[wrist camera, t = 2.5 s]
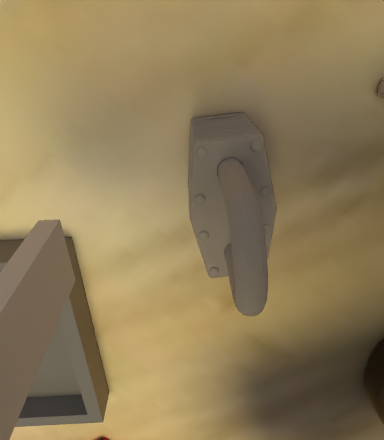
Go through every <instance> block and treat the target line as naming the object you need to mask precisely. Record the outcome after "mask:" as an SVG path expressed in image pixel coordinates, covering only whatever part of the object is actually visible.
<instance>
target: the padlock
mask: <svg viewBox="0 0 384 440" xmlns="http://www.w3.org/2000/svg"><path fill="white" fill-rule="evenodd" d="M188 188H189V211H190V220H191V223H192V226H193V229H194V232H195V235H196V238H197V242H198V245H199V248H200V251H201V254H202V257H203V260H204V263H205V266H206V269H207V272H208V275H209V277H211V278H217V277H226V276H229V280H230V285H231V290H232V295H233V299H234V303H235V306H236V308H237V309H238V311H239V312H241V313H242V314H243V315H246V316H255V315H258V314H259V313H261V311H262V310H263V309H264V306H265V304H266V301H267V290H268V271H267V259H268V254H269V248H270V243H271V237H272V231H273V226H274V220H275V215H276V203H275V197H274V192H273V187H272V181H271V176H270V171H269V166H268V160H267V155H266V150H265V144H264V139H263V135H262V134H261V132H260V131H259V130H258V129H257V128H256V126H255V125H254V124H253V123H252V122H251V120H250V119H249V118H248V117H247V115H246V114H245V113H243V112H240V113H232V114H224V115H216V116H208V117H200V118H193V119H192V120H191V132H190V154H189V177H188Z"/></svg>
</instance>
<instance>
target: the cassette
mask: <svg viewBox="0 0 384 440" xmlns="http://www.w3.org/2000/svg"><path fill="white" fill-rule="evenodd" d="M377 96H380V97H383V98H384V78H382V80H381V83H380V84H379V88H378V95H377Z"/></svg>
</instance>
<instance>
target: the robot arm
mask: <svg viewBox="0 0 384 440" xmlns="http://www.w3.org/2000/svg"><path fill="white" fill-rule="evenodd" d="M75 281H76V280H75V276H74V272H73V268H72V264H71V261H70V257H69V253H68V249H67V245H66V241H65V238H64V234H63V230H62V226H61V222H60V220H43V221H38V222H37V223H36V225H35V226H34V227H33V229H32V230H31V231H30V233H29V234H28V235H27V237H26V238H25V239H24V241H23V242H22V244H21V245H20V246H19V248H18V249H17V250H16V252H15V253H14V254H13V256H12V257H11V258H10V260H9V261H8V262H7V264H6V265H5V266H4V268H3V269H2V270H1V272H0V440H9V439H10V437H11V434H12V432H13V429H14V427H15V425H16V422H17V420H18V417H19V415H20V413H21V410H22V408H23V405H24V403H25V401H26V398H27V396H28V393H29V391H30V389H31V386H32V384H33V381H34V379H35V377H36V374H37V372H38V369H39V367H40V365H41V362H42V360H43V357H44V355H45V353H46V350H47V348H48V345H49V343H50V341H51V338H52V336H53V333H54V331H55V329H56V326H57V324H58V321H59V319H60V317H61V314H62V312H63V309H64V307H65V305H66V302H67V300H68V297H69V295H70V293H71V290H72V288H73V285H74V283H75ZM364 386H365V391H366V393H367V396H368V398H369V400H370V401H371V403H372V405H373V407H374V409H375V411H376V413H377V415H378V417H379V419H380V420H381V421H382V423H383V424H384V339H383V341H382V342H381V343H380V344H379V345H378V347H377V348H376V349H375V351H374V352H373V354H372V355H371V357H370V359H369V361H368V364H367V367H366V370H365V375H364Z"/></svg>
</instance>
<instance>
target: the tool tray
mask: <svg viewBox="0 0 384 440" xmlns="http://www.w3.org/2000/svg"><path fill="white" fill-rule="evenodd" d="M64 238H65V241H66V245H67V249H68V253H69V257H70V261H71V264H72V268H73V272H74V276H75V280H76V281H75V283H74V285H73V288H72V290H71V293H70V295H69V297H68V300H67V302H66V305H65V307H64V309H63V312H62V314H61V317H60V319H59V321H58V324H57V326H56V329H55V331H54V333H53V336H52V338H51V341H50V343H49V345H48V348H47V350H46V353H45V355H44V357H43V360H42V362H41V365H40V367H39V369H38V372H37V374H36V377H35V379H34V381H33V384H32V386H31V389H30V391H29V393H28V396H27V398H26V401H25V403H24V405H23V408H22V410H21V413H20V415H19V417H18V420H17V422H16V425H15V427H21V426H40V425H59V424H78V423H97V422H103V420H104V415H105V410H106V405H107V401H108V396H109V390H108V386H107V382H106V377H105V373H104V369H103V365H102V361H101V357H100V353H99V348H98V344H97V340H96V336H95V332H94V328H93V324H92V319H91V315H90V311H89V307H88V303H87V299H86V295H85V290H84V286H83V282H82V278H81V274H80V270H79V266H78V261H77V257H76V253H75V249H74V245H73V241H72V237H64ZM23 241H24V240H6V241H0V272H1V270H2V269H3V268H4V266H5V265H6V264H7V262H8V261H9V260H10V258H11V257H12V256H13V254H14V253H15V252H16V250H17V249H18V248H19V246H20V245H21V244H22V242H23Z"/></svg>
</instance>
